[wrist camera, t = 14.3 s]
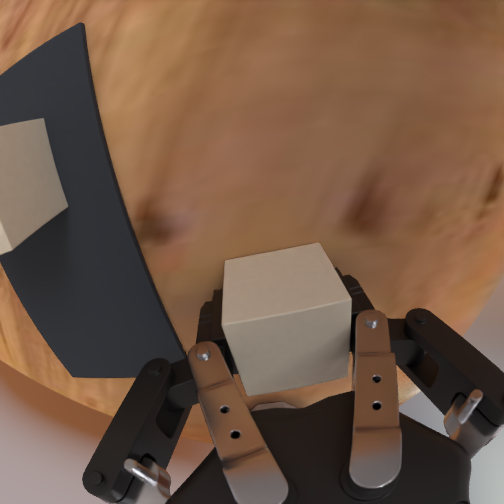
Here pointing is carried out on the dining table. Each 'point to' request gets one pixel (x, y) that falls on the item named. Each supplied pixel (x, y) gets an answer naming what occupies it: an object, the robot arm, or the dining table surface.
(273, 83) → the dining table surface
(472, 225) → the dining table surface
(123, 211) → the word mat
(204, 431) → the dining table surface
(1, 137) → the beige rounded cube
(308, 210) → the dining table surface
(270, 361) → the beige cube block
